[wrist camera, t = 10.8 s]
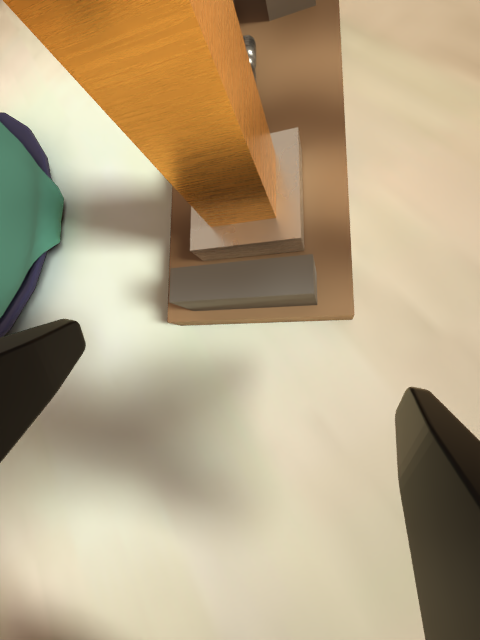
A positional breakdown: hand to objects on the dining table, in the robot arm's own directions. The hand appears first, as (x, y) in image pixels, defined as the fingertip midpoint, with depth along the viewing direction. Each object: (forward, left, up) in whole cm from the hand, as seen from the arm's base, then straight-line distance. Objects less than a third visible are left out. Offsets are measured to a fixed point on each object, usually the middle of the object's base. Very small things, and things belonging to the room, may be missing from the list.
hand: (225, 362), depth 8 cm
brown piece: (+7, +9, -7) cm, 14 cm away
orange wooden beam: (+6, +9, -6) cm, 12 cm away
